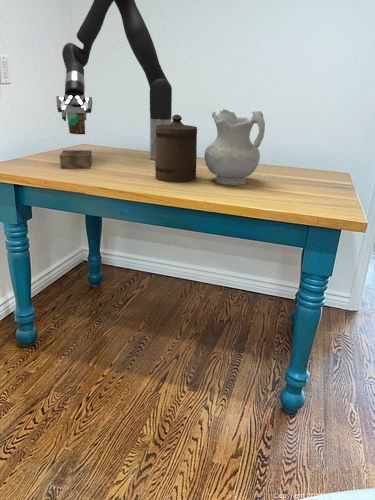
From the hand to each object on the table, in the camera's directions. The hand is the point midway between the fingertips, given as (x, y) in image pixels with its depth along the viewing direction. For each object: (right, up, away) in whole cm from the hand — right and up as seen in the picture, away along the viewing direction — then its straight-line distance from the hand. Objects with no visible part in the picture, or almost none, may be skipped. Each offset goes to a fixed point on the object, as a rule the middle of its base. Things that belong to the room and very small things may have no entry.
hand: (74, 119), depth 160 cm
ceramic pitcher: (+60, -26, -11) cm, 67 cm away
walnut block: (0, -16, +6) cm, 18 cm away
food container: (0, -5, +2) cm, 5 cm away
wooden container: (+39, -24, -8) cm, 47 cm away
